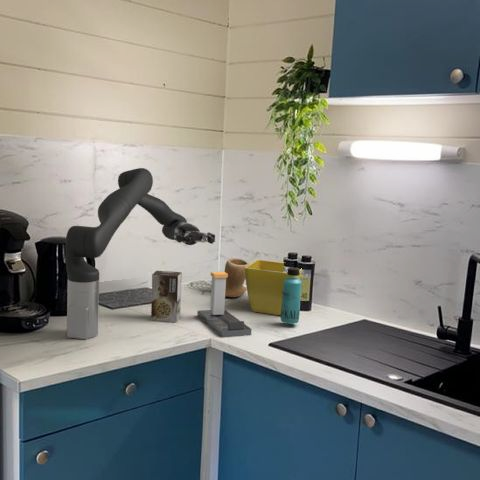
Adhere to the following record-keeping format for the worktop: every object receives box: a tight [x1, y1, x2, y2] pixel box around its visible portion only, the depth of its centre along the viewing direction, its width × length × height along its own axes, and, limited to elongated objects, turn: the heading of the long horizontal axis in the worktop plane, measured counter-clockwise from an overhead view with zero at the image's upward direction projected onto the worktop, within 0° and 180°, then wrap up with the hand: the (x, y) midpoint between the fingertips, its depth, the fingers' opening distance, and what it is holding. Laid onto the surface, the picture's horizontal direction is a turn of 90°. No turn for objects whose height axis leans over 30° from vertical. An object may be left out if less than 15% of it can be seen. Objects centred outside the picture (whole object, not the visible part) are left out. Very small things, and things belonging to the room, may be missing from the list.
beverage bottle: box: [280, 268, 303, 325], centre depth 205 cm, size 6×7×20 cm
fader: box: [209, 271, 228, 315], centre depth 206 cm, size 4×5×14 cm
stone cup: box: [224, 257, 250, 298], centre depth 244 cm, size 15×12×15 cm
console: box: [196, 308, 252, 338], centre depth 202 cm, size 24×10×4 cm, turn 23°
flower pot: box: [245, 259, 302, 316], centre depth 224 cm, size 19×19×17 cm
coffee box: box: [150, 270, 183, 323], centre depth 204 cm, size 9×6×16 cm
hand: (201, 240), depth 210 cm, fingers open, 7 cm apart
